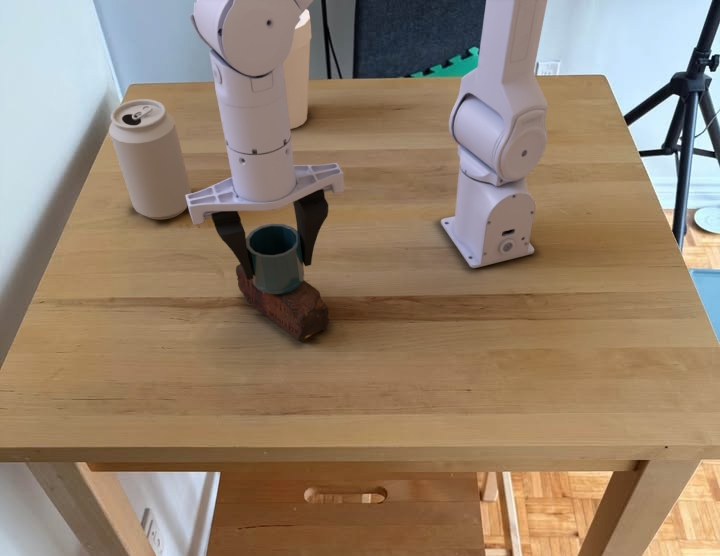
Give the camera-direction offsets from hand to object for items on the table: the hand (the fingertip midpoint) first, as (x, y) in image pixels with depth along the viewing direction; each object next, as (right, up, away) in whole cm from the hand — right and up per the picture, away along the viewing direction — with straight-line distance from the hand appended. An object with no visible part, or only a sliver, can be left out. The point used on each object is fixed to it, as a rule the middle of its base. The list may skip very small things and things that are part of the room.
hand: (277, 266), depth 72 cm
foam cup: (-2, +30, +29) cm, 42 cm away
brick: (0, -4, +5) cm, 6 cm away
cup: (0, -1, +1) cm, 1 cm away
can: (-16, +13, +18) cm, 27 cm away
